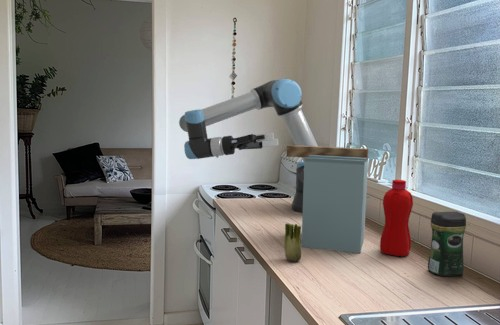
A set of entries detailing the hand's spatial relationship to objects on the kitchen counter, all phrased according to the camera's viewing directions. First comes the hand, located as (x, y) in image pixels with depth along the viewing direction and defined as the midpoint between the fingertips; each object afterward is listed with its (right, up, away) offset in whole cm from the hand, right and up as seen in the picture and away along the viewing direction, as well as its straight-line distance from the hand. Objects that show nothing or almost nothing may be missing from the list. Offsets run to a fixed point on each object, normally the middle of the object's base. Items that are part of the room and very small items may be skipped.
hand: (276, 139), depth 182 cm
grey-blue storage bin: (+20, -38, -14) cm, 45 cm away
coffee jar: (+48, -42, -42) cm, 77 cm away
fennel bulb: (+3, -40, -34) cm, 53 cm away
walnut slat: (+18, -7, -12) cm, 23 cm away
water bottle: (+39, -40, -23) cm, 61 cm away
